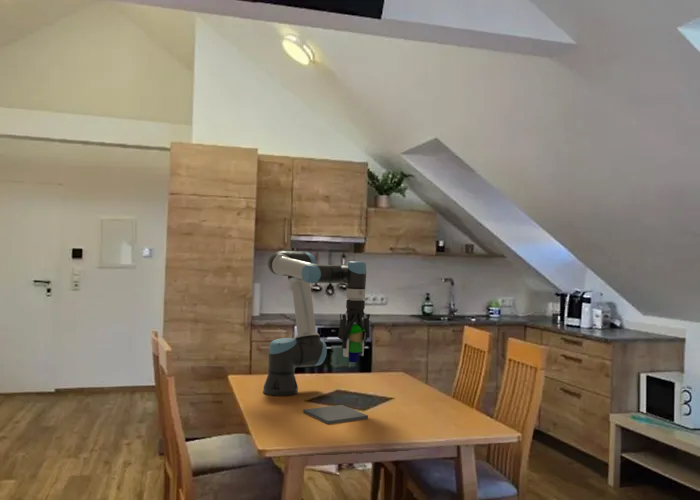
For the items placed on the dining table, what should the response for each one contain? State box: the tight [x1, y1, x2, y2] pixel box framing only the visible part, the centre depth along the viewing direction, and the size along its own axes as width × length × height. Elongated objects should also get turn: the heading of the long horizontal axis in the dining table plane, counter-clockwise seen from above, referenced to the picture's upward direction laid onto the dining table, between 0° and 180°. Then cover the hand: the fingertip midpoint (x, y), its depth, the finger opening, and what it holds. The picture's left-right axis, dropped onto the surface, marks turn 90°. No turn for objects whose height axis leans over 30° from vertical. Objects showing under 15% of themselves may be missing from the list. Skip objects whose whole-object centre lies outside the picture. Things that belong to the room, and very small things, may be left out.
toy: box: [347, 323, 367, 363], centre depth 246 cm, size 9×9×15 cm
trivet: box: [302, 404, 369, 425], centre depth 233 cm, size 18×18×1 cm
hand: (353, 355), depth 246 cm, fingers closed on toy, 7 cm apart
